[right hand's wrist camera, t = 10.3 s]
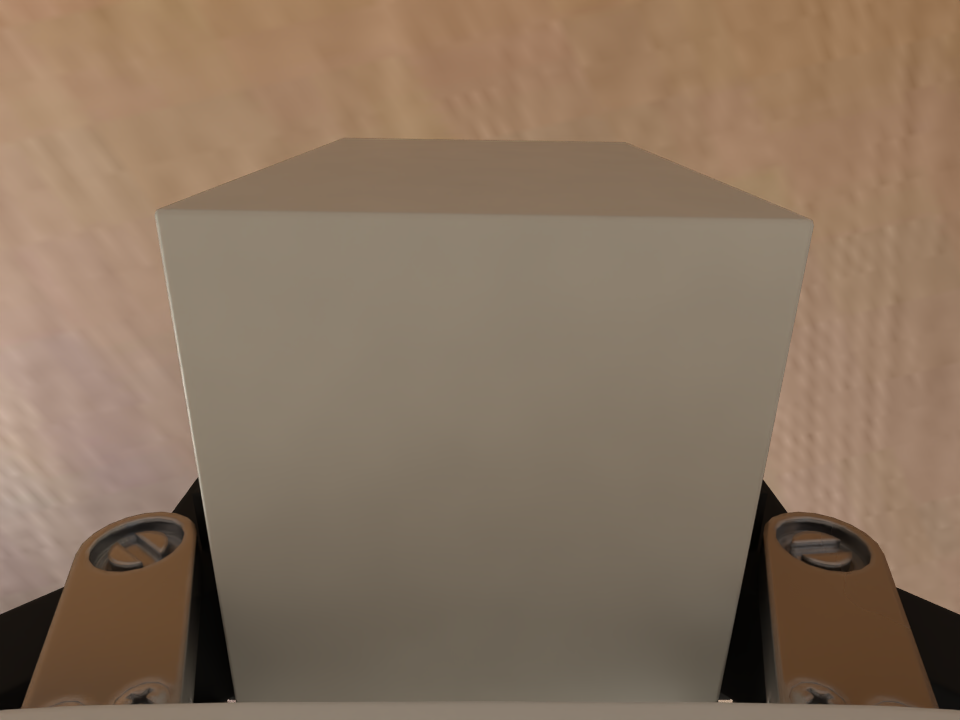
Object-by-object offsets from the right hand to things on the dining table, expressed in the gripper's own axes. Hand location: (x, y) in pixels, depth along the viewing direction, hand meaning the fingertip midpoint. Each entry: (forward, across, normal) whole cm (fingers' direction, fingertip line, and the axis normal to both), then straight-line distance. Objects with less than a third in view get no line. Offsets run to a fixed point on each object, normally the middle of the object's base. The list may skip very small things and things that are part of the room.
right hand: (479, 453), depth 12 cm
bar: (+3, 0, -33) cm, 33 cm away
